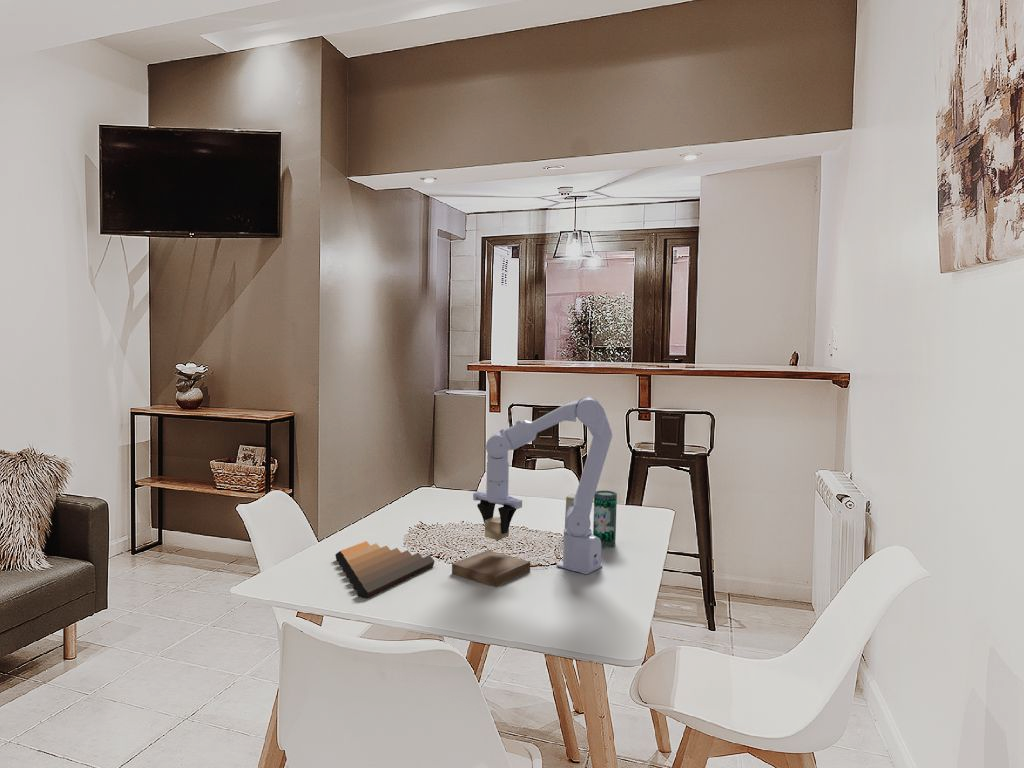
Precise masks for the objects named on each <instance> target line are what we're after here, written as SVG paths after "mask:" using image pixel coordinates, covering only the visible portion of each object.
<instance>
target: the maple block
mask: <svg viewBox="0 0 1024 768" xmlns="http://www.w3.org/2000/svg"><path fill="white" fill-rule="evenodd" d="M509 534H510V528H509V529H508V532H507V533H505V534H501V519H500V516H493V517H492V518H490V519H487V520H485V524H484V538H487V539H491V540H495V541H496V540H497V541H500V540H503V539H505V538H507V537H509V536H510V535H509Z"/></svg>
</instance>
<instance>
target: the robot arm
mask: <svg viewBox="0 0 1024 768" xmlns="http://www.w3.org/2000/svg"><path fill="white" fill-rule="evenodd" d="M577 419H578V421H580V422H581V423H582V424H583V425H584V426H585V427H586V428H587V430H589V432H590V434H591V436H592V439H591V443H590V445H589V449H588V453H587V456H586V459H585V463H584V466H583V469H582V473H581V476H580V479H579V483H578V485H577V489H576V493H575V494H574V495H575V497H574V500H573V503H572V504H571V505H570V506H569V507H568V509H567V511H566V510H565V513H566V528H565V527H564V529H563V542H562V543H563V546H562V547H563V548H562V549H563V550H562V552H563V554H562V555H563V556H562V561H560V562H558V563H556V565H555V566H556V567H558V568H563V569H566V570H570V571H573V572H577V573H579V574H580V573H581V574H584V575H588V574H591V573H593V572H594V571H596V570H598V569H601V568H602V567H603V564H602V547H601V540H600V538H598V537H596V536H594V535H593V531H592V529H591V517H590V516H591V512H592V506H593V504H594V495H595V492H596V491H597V489H598V485H599V481H600V478H601V475H602V471H603V468H604V465H605V462H606V458H607V454H608V451H609V449H610V445H611V442H612V438H613V433H612V429H611V426H610V423H609V420H608V417H607V414H606V412H605V410H604V408H603V406H602V405H601V404H600V402H599V401H598V399H596V398H595V397H593V396H583V397H581V398H580V399H578V400H576V399H575V400H573V401H570V402H568V403H566V404H563V405H560V406H559V407H557V408H556V409H553V410H552V411H550V412H548V413H546V414H544V415H543V416H541V417H539V418H537V419H535V420H533V421H530V420H527V419H524V420H521V419H518V420H516V421H515V424H513V425H511V426H510V427H508V428H506V429H504V428H501V429H500V430H499V433H498V432H497V433H494V434H492V435H491V436H490V437H489V439H488V440H487V441H486V444H485V449H486V453H487V456H486V457H487V461H486V492H482V491H481V492H480V491H476V492H473V493H472V497H473V498H472V500H473V501H476V502H478V501H480V502H479V503H477V504H476V506H477V508H478V510H479V512H480V514H481V516H482V520H483V524H484V525H485V520H487V519H490V518H492V517H494V512H495V507H496V505H500V507H498V513H499V517H500V519H501V534H505V533H507V532H508V529H509V530H510V524H511V521H512V520H513V517H514V516H515V513H516V511H517V510H518V509H521V508H523V500H522V499H518V498H516V497H513V496H510V494H509V476H510V475H509V472H510V471H509V469H510V468H509V466H510V465H509V463H510V462H509V451H510V450H511V451H514V450H517V449H519V448H520V447H523V446H525V445H527V444H529V443H531V442H533V441H535V440H536V439H537V438H536V437H537V435H538V433H540V432H542V431H545V430H547V429H549V428H551V427H554V426H555V425H558V424H560V423H562V422H564V421H565V422H566V421H568V422H576V421H577Z"/></svg>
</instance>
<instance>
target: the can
mask: <svg viewBox="0 0 1024 768" xmlns="http://www.w3.org/2000/svg"><path fill="white" fill-rule="evenodd" d="M617 500H618V494H617V492H616V491H612V490H596V492H595V495H594V499H593V525H592V527H593V531H592V534H593V535H594V536H596V537H598V538H600V540H601V548H612V547H615V546H616V536H617V534H616V533H617V531H616V529H617V506H618V505H617V503H618V501H617Z"/></svg>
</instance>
